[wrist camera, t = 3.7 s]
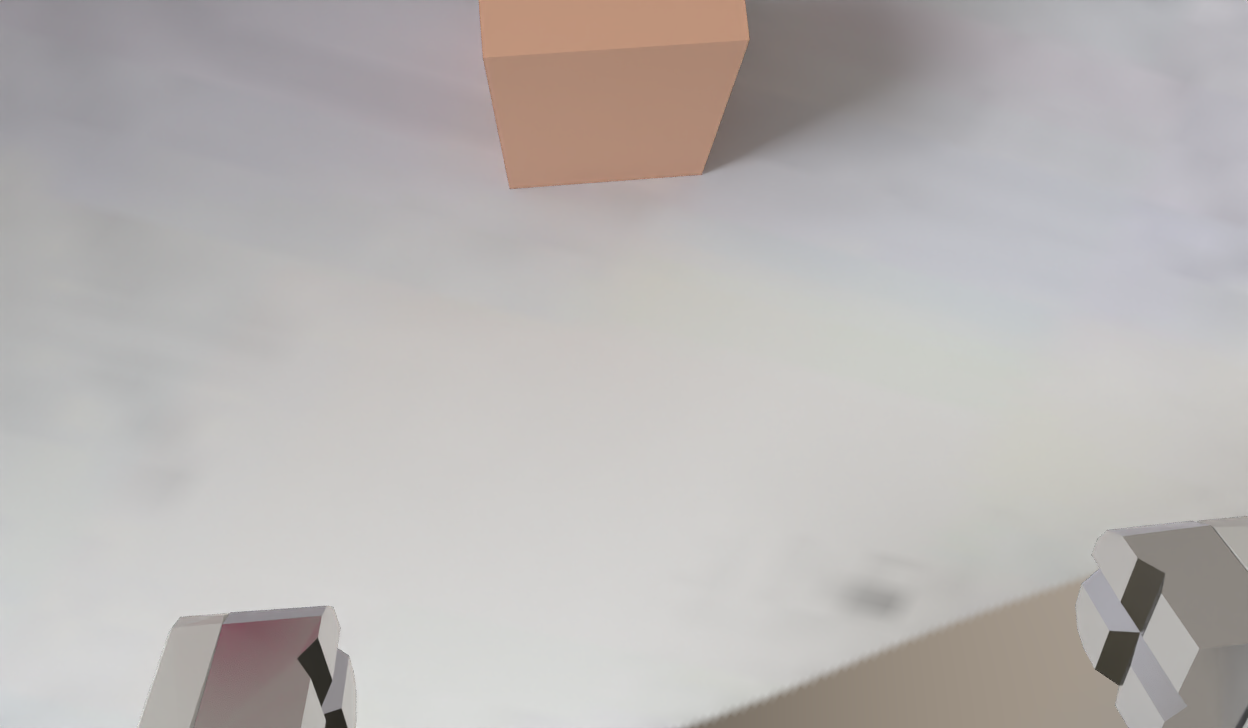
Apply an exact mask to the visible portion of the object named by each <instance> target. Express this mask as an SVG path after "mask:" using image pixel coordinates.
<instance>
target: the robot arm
mask: <svg viewBox="0 0 1248 728" xmlns="http://www.w3.org/2000/svg"><path fill="white" fill-rule="evenodd" d="M1092 557H1093V558H1094V560H1095V562H1096V563H1097V565H1098V567H1099V568H1100V569H1098V570H1097V571H1096V572H1095V573H1094V574H1092V575H1091V576H1090V577H1089V578H1088V579H1087V580H1085V581H1084V582H1083V583H1082V584H1081V587H1080V591H1079V595H1078V598H1077V602H1076V617H1077V630H1078V633H1079V636H1080V638H1081V642H1082V645H1083V648H1084V650H1085V652H1086V654H1087V656H1088V657H1089V659H1090V661H1091V663H1092V665H1093V667H1094V668H1095V670H1097V671H1098V672H1100V673H1101V674H1103V675H1104V676H1106V677H1107V678H1109V679H1110V680H1112V681H1113V682H1115V683H1116V684H1117V685H1119V688H1118V693H1117V699H1116V703H1115V706H1116V708H1117V709H1118V711H1119V713H1120V715H1121V716H1122V718H1123V720H1124V721H1125V723H1126V725H1127V727H1128V728H1248V517H1247V516H1242V517H1232V518H1222V519H1212V520H1201V521H1197V522H1194V521H1186V522H1177V523H1167V524H1158V525H1149V526H1140V527H1130V528H1121V529H1112V530H1106V531H1105V532H1104V533H1103V534H1102V535H1101V536H1100V537H1099V538H1098V539H1097V541H1096V544H1095V547H1094V549H1093V552H1092ZM339 635H340V625H339V622H338V619H337V616H336V613H335V611H334V608H333V607H331V606H317V607H302V608H288V609H274V610H260V611H245V612H231V613H225V614H212V615H199V616H186V617H180V618H179V619H178V620H177V622H176V623H175V624H174V626H173V627H172V628H171V630H170V631H169V633H168V636H167V639H166V642H165V645H164V648H163V651H162V654H161V657H160V660H159V663H158V666H157V669H156V672H155V675H154V678H153V681H152V684H151V687H150V690H149V693H148V696H147V699H146V702H145V705H144V708H143V711H142V714H141V717H140V720H139V723H138V726H137V728H356V685H355V678H354V671H353V668H352V664H351V661H350V657H349V655H347V654H346V653H344V652H343V651H341V650H340V649H338V641H339Z"/></svg>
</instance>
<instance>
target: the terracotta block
mask: <svg viewBox="0 0 1248 728" xmlns="http://www.w3.org/2000/svg"><path fill="white" fill-rule="evenodd" d="M479 12H480V25H481V38H482V51H483V60H484V65H485V70H486V75H487V80H488V85H489V90H490V94H491V99H492V104H493V109H494V114H495V119H496V124H497V129H498V134H499V139H500V143H501V148H502V153H503V158H504V163H505V168H506V173H507V178H508V183H509V187H510V189H516V188H529V187H543V186H556V185H569V184H583V183H596V182H610V181H623V180H636V179H650V178H663V177H676V176H690V175H702V173H703V170H704V167H705V164H706V161H707V159H708V156H709V153H710V150H711V147H712V145H713V142H714V139H715V136H716V133H717V131H718V128H719V125H720V122H721V119H722V116H723V114H724V111H725V108H726V105H727V102H728V100H729V97H730V94H731V91H732V88H733V85H734V83H735V80H736V77H737V74H738V71H739V69H740V66H741V63H742V60H743V57H744V55H745V52H746V49H747V46H748V43H749V40H750V39H749V30H748V22H747V13H746V5H745V0H479Z"/></svg>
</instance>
